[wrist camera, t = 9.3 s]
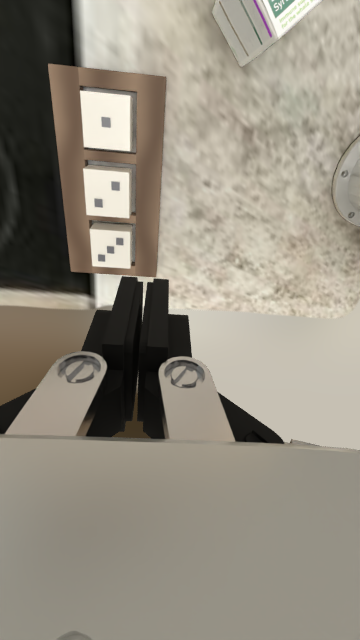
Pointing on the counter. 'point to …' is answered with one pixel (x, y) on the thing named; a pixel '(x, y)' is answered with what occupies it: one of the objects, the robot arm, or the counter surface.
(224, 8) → the syrup box
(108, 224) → the white square block
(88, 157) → the keypad board
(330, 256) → the counter surface
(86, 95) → the keypad button
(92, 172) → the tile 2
